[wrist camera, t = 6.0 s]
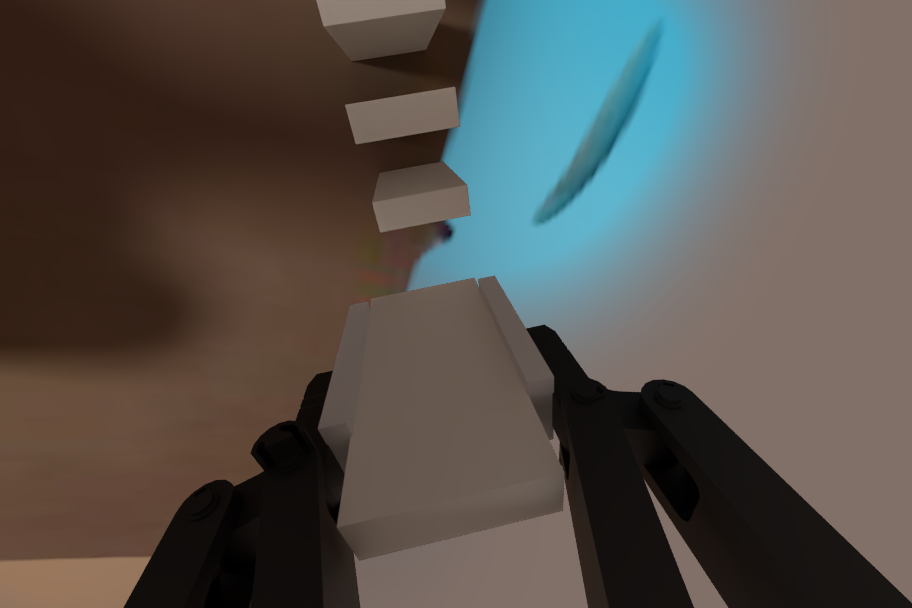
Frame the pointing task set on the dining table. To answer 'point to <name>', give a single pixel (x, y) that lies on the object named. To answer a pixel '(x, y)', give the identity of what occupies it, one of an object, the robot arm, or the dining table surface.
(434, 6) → the domino
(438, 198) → the domino
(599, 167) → the dining table surface
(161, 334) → the dining table surface
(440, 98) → the domino
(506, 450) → the domino
